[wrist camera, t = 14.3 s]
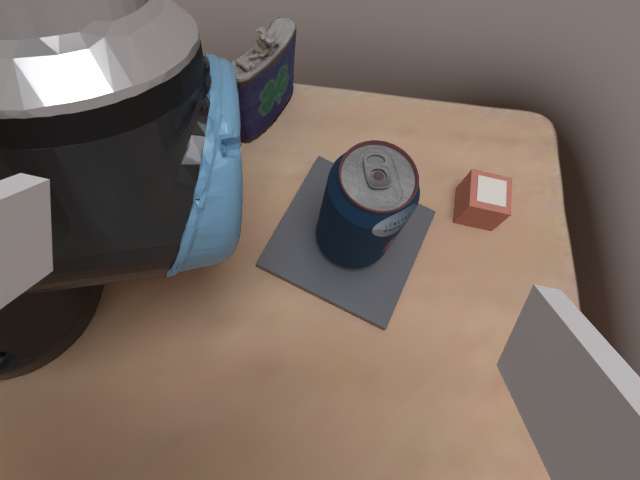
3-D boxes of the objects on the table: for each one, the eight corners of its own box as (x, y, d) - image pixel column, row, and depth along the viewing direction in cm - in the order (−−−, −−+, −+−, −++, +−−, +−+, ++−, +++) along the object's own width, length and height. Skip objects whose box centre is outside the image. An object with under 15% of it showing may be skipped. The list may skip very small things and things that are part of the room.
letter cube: (452, 222, 45) (470, 204, 41) (455, 188, 46) (472, 168, 42) (491, 231, 45) (512, 214, 41) (492, 197, 46) (513, 177, 42)
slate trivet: (256, 266, 41) (256, 263, 40) (317, 160, 46) (318, 156, 45) (383, 330, 40) (385, 328, 39) (432, 215, 45) (435, 211, 44)
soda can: (392, 268, 41) (437, 216, 30) (319, 275, 40) (337, 223, 29) (379, 202, 44) (416, 130, 32) (310, 207, 43) (324, 134, 32)
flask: (279, 78, 49) (281, -6, 39) (301, 92, 49) (308, 10, 39) (227, 135, 46) (215, 58, 36) (250, 150, 45) (245, 76, 35)
